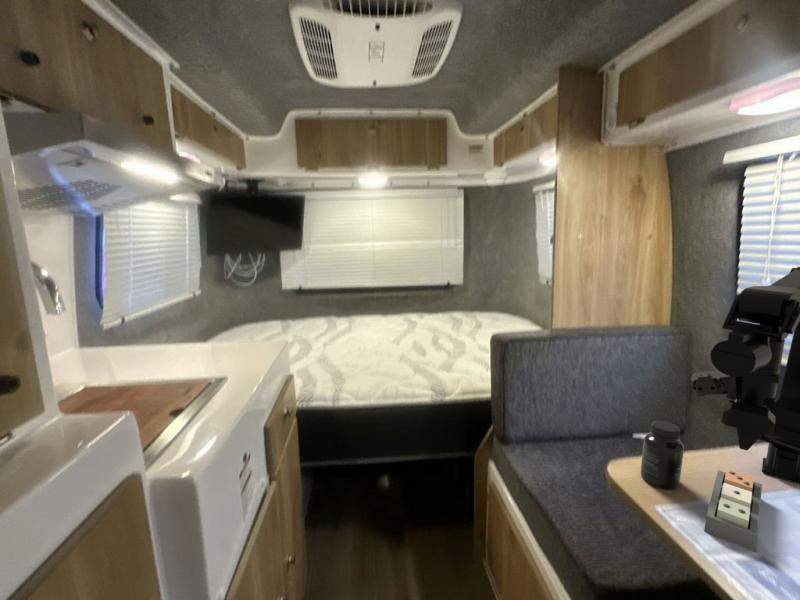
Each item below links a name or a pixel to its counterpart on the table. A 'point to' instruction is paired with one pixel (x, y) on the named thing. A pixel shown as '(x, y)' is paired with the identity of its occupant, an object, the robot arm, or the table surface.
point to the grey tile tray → (729, 529)
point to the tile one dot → (736, 495)
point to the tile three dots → (739, 480)
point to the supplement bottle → (662, 455)
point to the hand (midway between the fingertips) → (743, 448)
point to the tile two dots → (733, 513)
